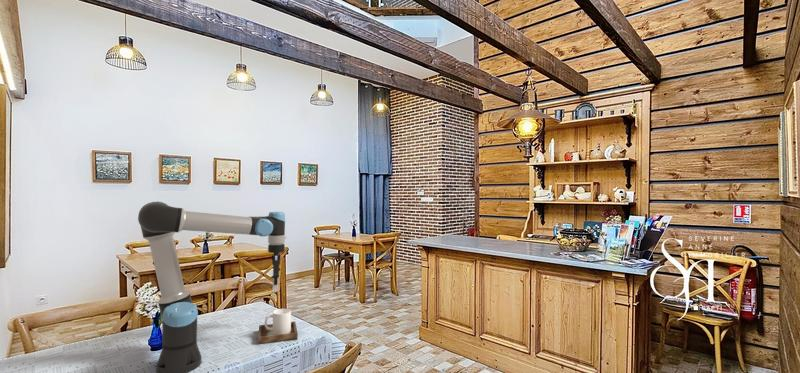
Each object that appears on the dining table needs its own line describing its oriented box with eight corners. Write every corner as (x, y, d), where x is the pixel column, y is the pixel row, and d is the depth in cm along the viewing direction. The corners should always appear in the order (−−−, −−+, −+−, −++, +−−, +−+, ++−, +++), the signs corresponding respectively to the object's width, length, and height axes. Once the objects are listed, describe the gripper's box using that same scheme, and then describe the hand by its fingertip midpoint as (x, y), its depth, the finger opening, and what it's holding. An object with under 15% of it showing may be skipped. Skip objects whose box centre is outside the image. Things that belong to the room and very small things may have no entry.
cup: (290, 335, 172) (290, 313, 173) (263, 337, 169) (263, 315, 169) (290, 328, 180) (291, 308, 181) (265, 330, 177) (265, 309, 177)
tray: (258, 344, 164) (258, 337, 164) (259, 331, 179) (259, 325, 179) (297, 339, 170) (297, 333, 170) (295, 327, 185) (295, 321, 185)
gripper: (285, 247, 167) (284, 294, 167) (284, 240, 191) (283, 281, 190) (267, 247, 165) (266, 295, 164) (268, 240, 188) (268, 281, 188)
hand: (275, 287), depth 177 cm, fingers open, 13 cm apart
